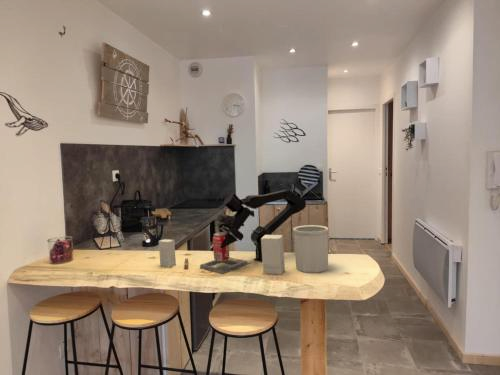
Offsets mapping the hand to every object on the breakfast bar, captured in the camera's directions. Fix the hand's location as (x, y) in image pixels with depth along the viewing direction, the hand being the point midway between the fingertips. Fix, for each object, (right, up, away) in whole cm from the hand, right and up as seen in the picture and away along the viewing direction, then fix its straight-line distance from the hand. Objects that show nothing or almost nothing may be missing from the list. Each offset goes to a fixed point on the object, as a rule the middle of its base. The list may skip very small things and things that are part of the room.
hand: (218, 246), depth 162 cm
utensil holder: (+41, -9, -4) cm, 42 cm away
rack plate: (+2, -10, +3) cm, 10 cm away
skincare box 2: (+24, -10, -8) cm, 27 cm away
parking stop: (-15, -10, +5) cm, 19 cm away
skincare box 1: (-24, -10, +7) cm, 27 cm away
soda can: (+2, -7, +1) cm, 7 cm away
